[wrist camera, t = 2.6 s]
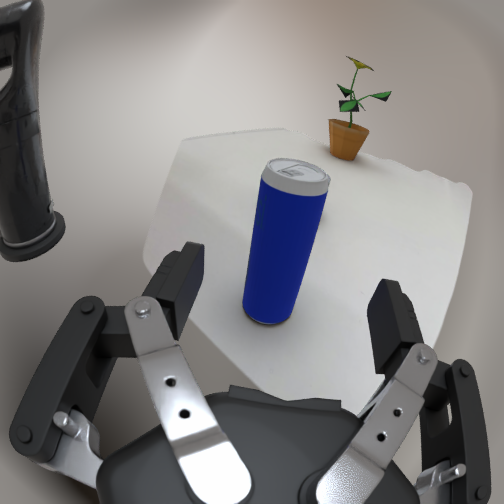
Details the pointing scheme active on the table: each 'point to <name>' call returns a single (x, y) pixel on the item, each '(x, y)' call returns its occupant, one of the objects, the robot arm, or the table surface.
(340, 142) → the potted plant
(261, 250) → the beverage can
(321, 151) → the table surface
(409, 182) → the table surface
